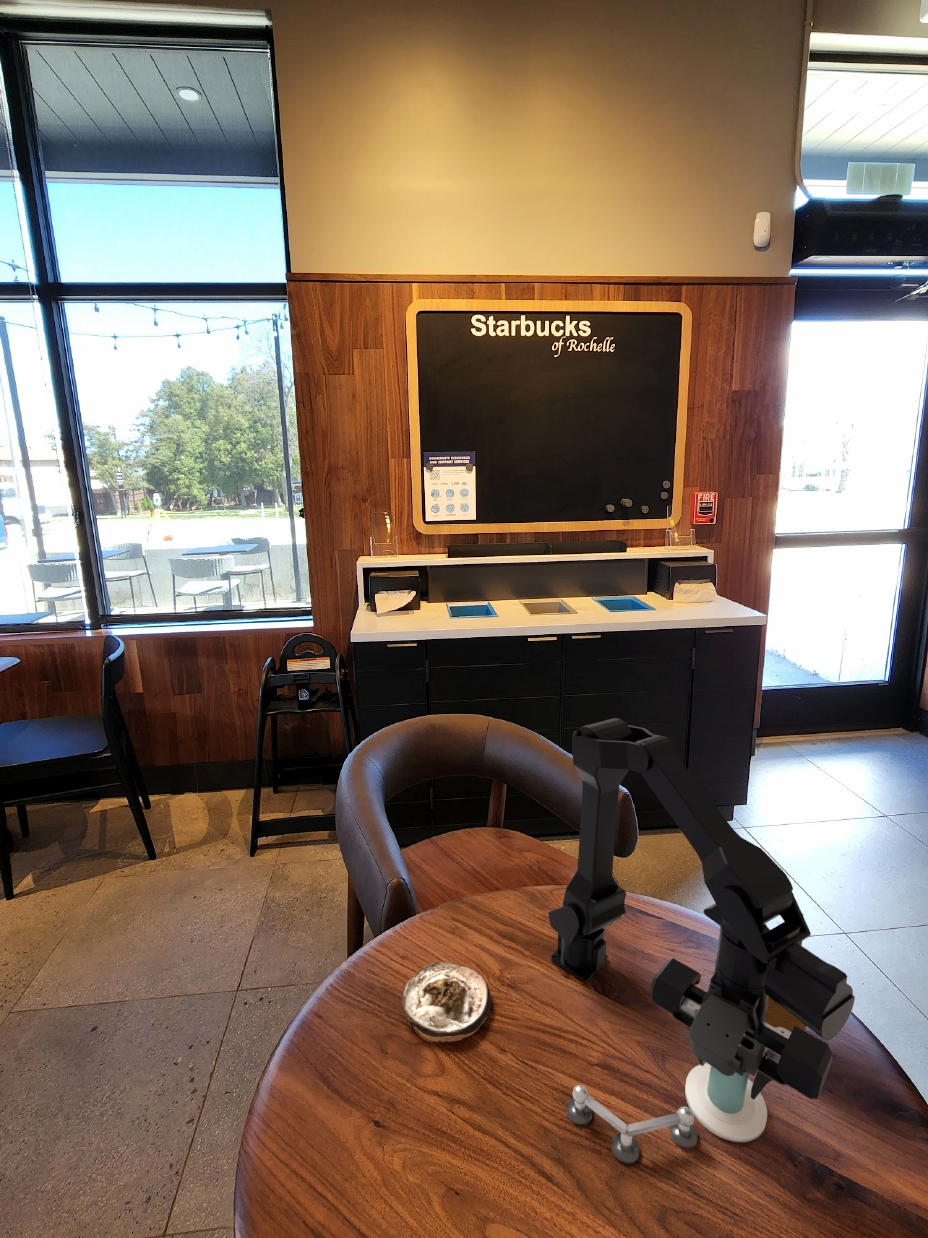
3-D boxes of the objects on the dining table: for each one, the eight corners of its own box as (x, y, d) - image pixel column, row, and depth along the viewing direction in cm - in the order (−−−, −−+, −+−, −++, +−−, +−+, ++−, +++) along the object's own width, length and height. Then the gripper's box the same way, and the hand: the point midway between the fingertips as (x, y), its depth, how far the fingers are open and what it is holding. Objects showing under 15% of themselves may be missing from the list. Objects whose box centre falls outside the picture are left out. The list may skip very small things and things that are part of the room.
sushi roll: (517, 993, 91) (518, 969, 90) (463, 1076, 78) (464, 1049, 77) (433, 953, 98) (432, 930, 97) (371, 1022, 86) (370, 997, 85)
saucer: (672, 1104, 75) (672, 1098, 74) (703, 1054, 81) (704, 1049, 81) (750, 1160, 69) (751, 1154, 68) (777, 1101, 75) (778, 1095, 75)
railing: (561, 1113, 74) (562, 1089, 73) (601, 1061, 80) (603, 1039, 79) (665, 1199, 65) (668, 1173, 64) (701, 1134, 71) (704, 1110, 70)
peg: (715, 1074, 77) (722, 1028, 76) (748, 1096, 75) (756, 1049, 73) (701, 1097, 75) (708, 1050, 73) (735, 1121, 72) (744, 1073, 70)
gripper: (632, 964, 71) (622, 1074, 75) (813, 1071, 58) (791, 1197, 62) (676, 914, 79) (665, 1017, 82) (843, 999, 66) (822, 1115, 70)
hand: (727, 1079), depth 74 cm, fingers open, 6 cm apart
